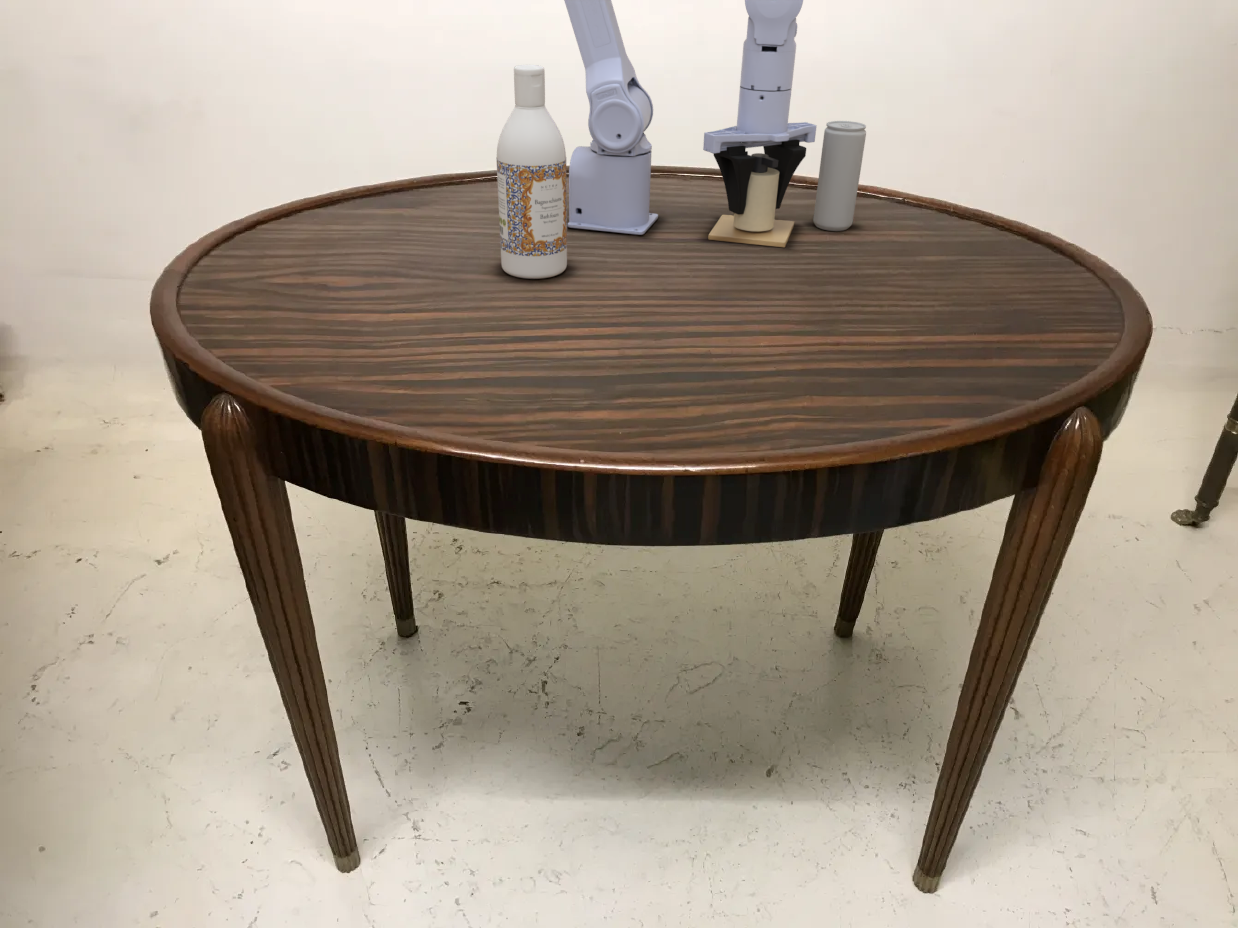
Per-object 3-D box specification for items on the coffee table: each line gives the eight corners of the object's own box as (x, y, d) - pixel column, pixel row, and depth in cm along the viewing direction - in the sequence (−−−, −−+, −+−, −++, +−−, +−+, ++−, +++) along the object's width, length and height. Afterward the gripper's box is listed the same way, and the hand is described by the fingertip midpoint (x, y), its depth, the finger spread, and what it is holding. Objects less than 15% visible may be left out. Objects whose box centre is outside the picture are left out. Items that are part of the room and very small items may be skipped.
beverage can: (849, 221, 117) (864, 121, 110) (854, 233, 112) (869, 129, 106) (810, 220, 117) (823, 120, 111) (813, 231, 113) (827, 128, 107)
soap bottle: (725, 223, 112) (730, 152, 108) (757, 218, 114) (763, 149, 110) (751, 234, 108) (758, 162, 104) (784, 229, 110) (792, 158, 106)
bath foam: (521, 285, 95) (513, 74, 84) (490, 265, 100) (479, 64, 89) (579, 273, 98) (579, 69, 88) (546, 255, 103) (542, 60, 93)
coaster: (707, 239, 109) (708, 234, 109) (721, 219, 116) (722, 214, 116) (784, 247, 107) (785, 242, 107) (794, 226, 114) (794, 221, 114)
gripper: (733, 97, 97) (723, 226, 104) (839, 88, 104) (823, 210, 111) (696, 87, 102) (688, 210, 109) (799, 79, 109) (786, 196, 116)
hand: (754, 209), depth 110 cm, fingers closed on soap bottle, 5 cm apart
